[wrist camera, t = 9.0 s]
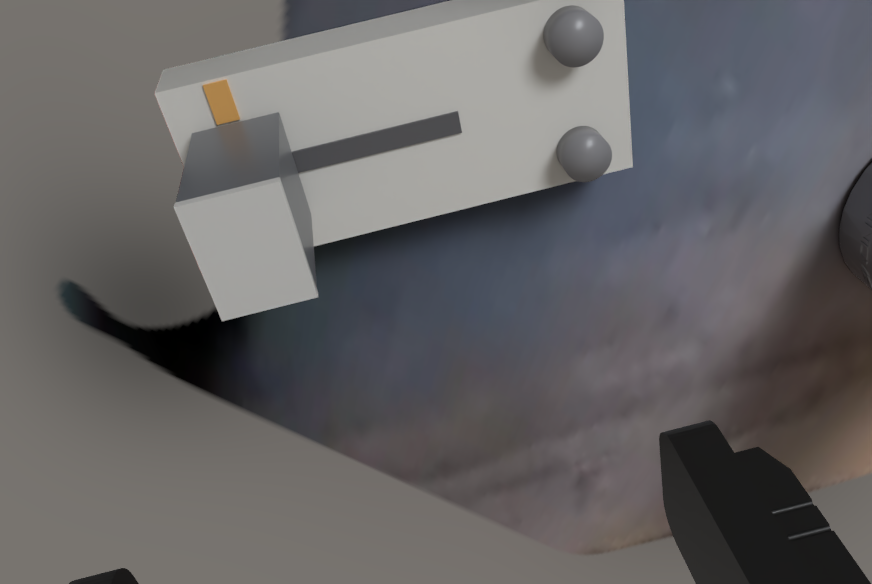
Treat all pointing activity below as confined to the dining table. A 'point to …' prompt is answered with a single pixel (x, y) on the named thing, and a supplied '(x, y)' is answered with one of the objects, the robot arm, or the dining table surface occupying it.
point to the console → (427, 106)
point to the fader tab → (247, 217)
